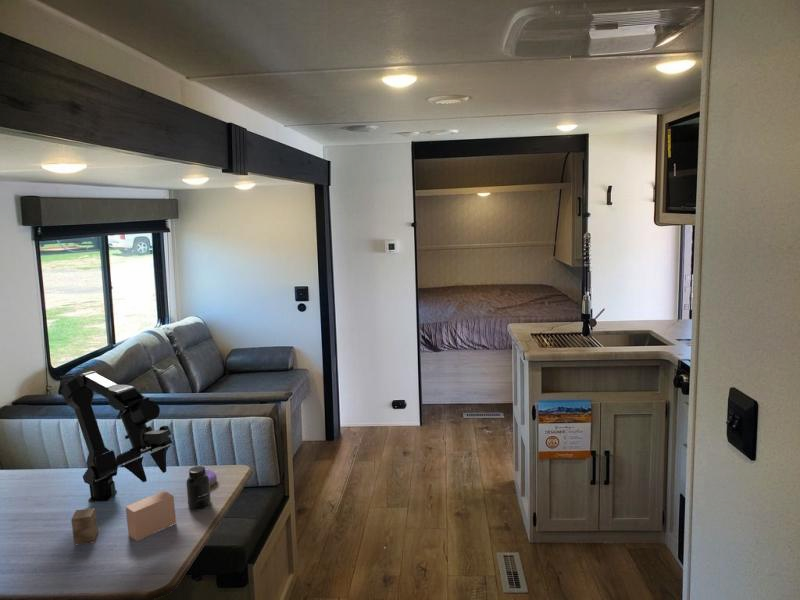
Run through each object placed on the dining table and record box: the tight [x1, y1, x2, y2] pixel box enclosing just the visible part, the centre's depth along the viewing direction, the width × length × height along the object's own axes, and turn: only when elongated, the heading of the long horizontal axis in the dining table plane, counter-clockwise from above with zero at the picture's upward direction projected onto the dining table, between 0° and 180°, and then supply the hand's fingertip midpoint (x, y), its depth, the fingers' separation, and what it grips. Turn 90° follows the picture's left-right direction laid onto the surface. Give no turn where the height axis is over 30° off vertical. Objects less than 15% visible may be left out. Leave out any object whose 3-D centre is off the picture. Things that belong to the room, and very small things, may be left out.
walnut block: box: [71, 507, 99, 545], centre depth 176 cm, size 5×5×8 cm
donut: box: [205, 469, 218, 488], centre depth 208 cm, size 10×9×5 cm
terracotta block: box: [125, 490, 177, 542], centre depth 180 cm, size 5×12×9 cm, turn 139°
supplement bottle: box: [185, 465, 212, 511], centre depth 193 cm, size 7×7×12 cm
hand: (155, 476), depth 184 cm, fingers open, 9 cm apart
